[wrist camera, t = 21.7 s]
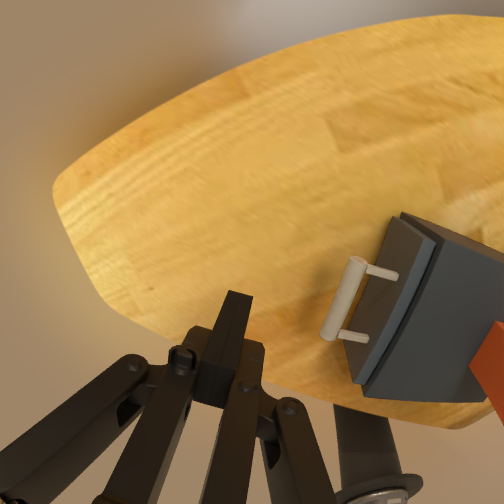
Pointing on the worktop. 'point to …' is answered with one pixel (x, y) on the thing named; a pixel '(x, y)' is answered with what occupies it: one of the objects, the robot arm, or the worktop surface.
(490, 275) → the cabinet
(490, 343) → the box
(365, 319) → the drawer
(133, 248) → the worktop surface
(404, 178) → the worktop surface
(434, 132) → the worktop surface
